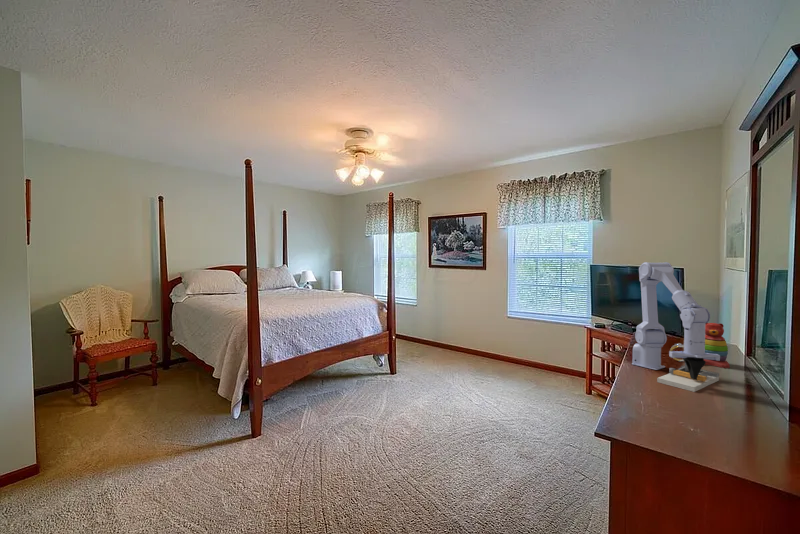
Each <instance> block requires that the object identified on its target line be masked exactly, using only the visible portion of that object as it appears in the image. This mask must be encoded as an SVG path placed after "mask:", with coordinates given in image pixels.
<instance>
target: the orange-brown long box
mask: <svg viewBox="0 0 800 534" xmlns="http://www.w3.org/2000/svg"><path fill="white" fill-rule="evenodd" d="M668 369H669V370H668V374H669V373H671V374H676V375H680V376H684V377H688V378H691V377H690V373H688V372H684V371H680V370H677V368H674V367H669V368H668ZM697 380H700V381H704V382H705V381H707V377H705V376H701V375H698V377H697Z"/></svg>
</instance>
